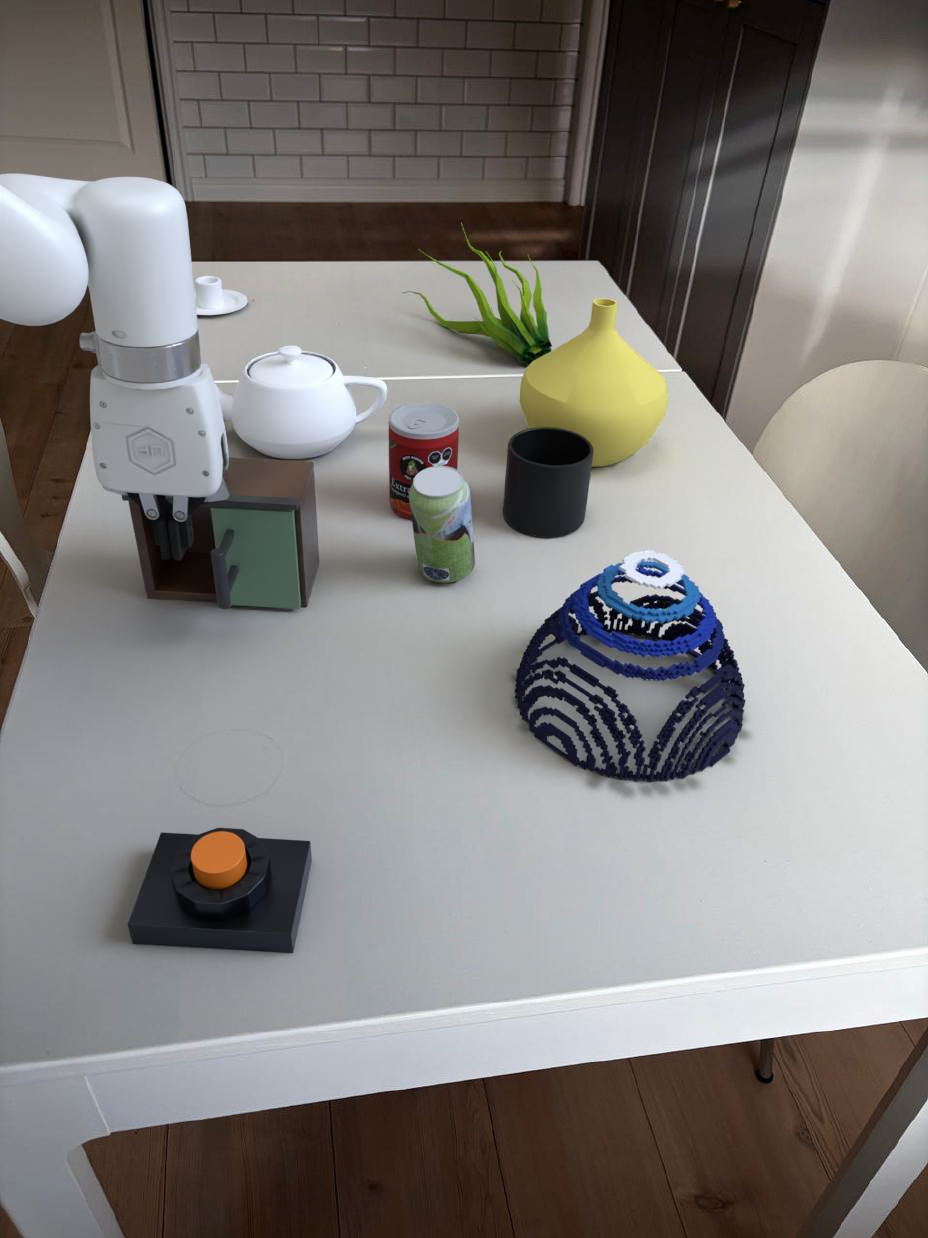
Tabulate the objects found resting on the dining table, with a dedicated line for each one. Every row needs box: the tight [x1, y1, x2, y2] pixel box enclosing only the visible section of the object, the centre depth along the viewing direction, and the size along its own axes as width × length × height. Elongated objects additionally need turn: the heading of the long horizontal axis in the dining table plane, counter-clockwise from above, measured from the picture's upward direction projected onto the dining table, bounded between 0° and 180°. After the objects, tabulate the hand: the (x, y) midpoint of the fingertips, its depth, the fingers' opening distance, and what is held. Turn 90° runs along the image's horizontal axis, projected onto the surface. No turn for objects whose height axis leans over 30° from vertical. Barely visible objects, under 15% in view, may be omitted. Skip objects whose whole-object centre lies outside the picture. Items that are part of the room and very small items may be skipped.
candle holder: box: [194, 275, 249, 316], centre depth 161 cm, size 12×12×4 cm
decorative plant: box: [402, 222, 553, 367], centre depth 152 cm, size 18×30×15 cm, turn 12°
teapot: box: [214, 344, 388, 460], centre depth 122 cm, size 25×16×12 cm, turn 92°
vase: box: [518, 297, 669, 468], centre depth 122 cm, size 18×18×19 cm
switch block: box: [127, 827, 313, 954], centre depth 69 cm, size 11×8×4 cm
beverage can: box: [409, 466, 476, 584], centre depth 100 cm, size 6×7×12 cm
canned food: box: [388, 402, 460, 520], centre depth 112 cm, size 8×8×11 cm
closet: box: [121, 456, 320, 608], centre depth 97 cm, size 16×9×13 cm, turn 88°
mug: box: [502, 427, 593, 538], centre depth 112 cm, size 9×12×9 cm
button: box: [191, 831, 247, 889], centre depth 68 cm, size 4×4×2 cm
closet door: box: [211, 505, 302, 610], centre depth 92 cm, size 8×6×11 cm
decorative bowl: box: [513, 549, 746, 783], centre depth 85 cm, size 20×20×14 cm
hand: (176, 551), depth 88 cm, fingers closed
